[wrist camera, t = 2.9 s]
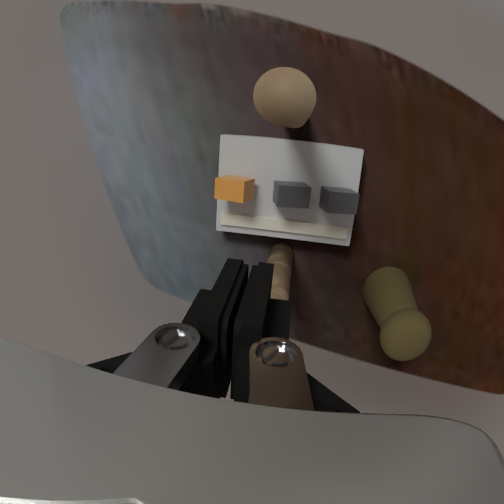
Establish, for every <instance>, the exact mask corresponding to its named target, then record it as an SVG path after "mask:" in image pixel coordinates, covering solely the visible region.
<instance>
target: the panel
mask: <svg viewBox="0 0 504 504" xmlns="http://www.w3.org/2000/svg"><path fill="white" fill-rule="evenodd" d="M363 151H364V150H363V149H359V148H353V147H347V146H340V145H333V144H325V143H318V142H309V141H301V140H291V139H281V138H271V137H259V136H245V135H228V134H224V135H221V138H220V156H219V175H218V177H221V176H225V175H233V176H240V177H248V178H255V185H254V199H252V200H249V201H247V202H245V203H238V202H232V201H226V200H220V199H217V222H216V230H218V231H226V232H235V233H244V234H253V235H261V236H270V237H278V238H287V239H295V240H303V241H311V242H319V243H327V244H335V245H343V246H349V245H350V239H351V233H352V228H353V222H354V216H355V215H351V214H336V213H326V212H325V211H324V210H323V209H322V208H320V207H319V200H320V192H321V186H328V187H340V188H350V189H352V190H353V191H355V192H357V193H358V190H359V182H360V175H361V168H362V160H363ZM274 180H276V181H291V182H305V183H306V184H307V185H309V186H310V187H311V196H310V204H309V209H307V208H288V207H277V206H276V205H275V203H274V202H273V190H274Z"/></svg>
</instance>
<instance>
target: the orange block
mask: <svg viewBox="0 0 504 504" xmlns="http://www.w3.org/2000/svg"><path fill="white" fill-rule="evenodd" d="M254 185H255V178H248V177H240V176H233V175H225V176H221V177H217V178H215V197H214V199H220V200H226V201H232V202H238V203H245V202H247V201H249V200H252V199H254Z"/></svg>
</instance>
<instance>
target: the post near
mask: <svg viewBox="0 0 504 504" xmlns="http://www.w3.org/2000/svg"><path fill="white" fill-rule="evenodd" d="M253 99H254V104H255V107H256V109H257V111H258V113H259V114H260V115H261V116H262V117H263V118H264V119H265V120H267V121H268V122H270V123H272V124H274V125H278V126H284V127H290V128H300V127H302V126H303V125H304V124H305V123H306V121H307V120H308V118H309V116H310V115H311V113H312V111H313V109H314V107H315V104H316V91H315V88H314V85H313V83H312V82H311V80H310V79H309V78H308V77H307V76H306V75H305V74H304V73H302V72H301V71H299V70H297V69H294V68H290V67H278V68H274V69H272V70H269V71H268V72H266V73H265V74H263V75H262V76H261V77H260V79H259V80H258V81H257V83H256V85H255V88H254V93H253Z"/></svg>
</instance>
